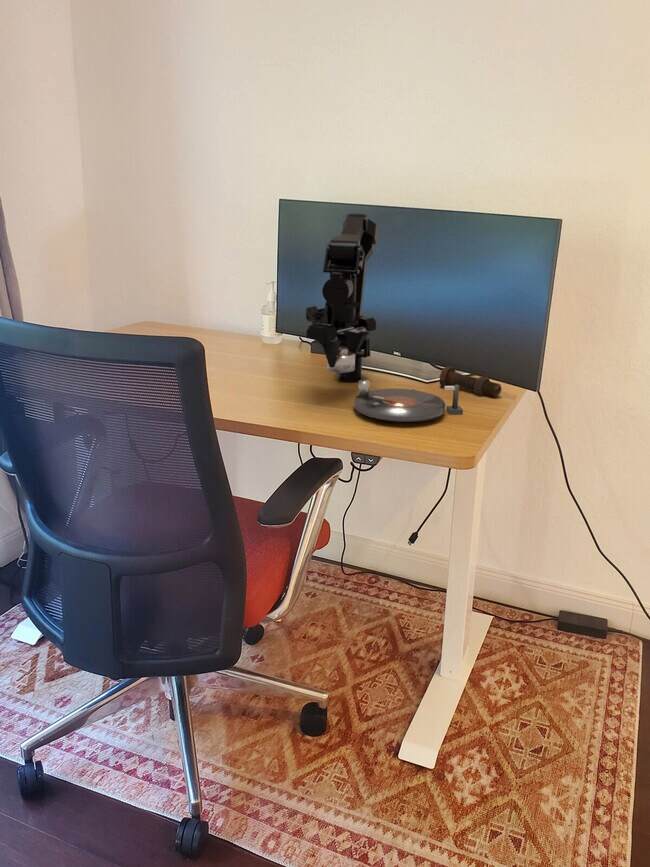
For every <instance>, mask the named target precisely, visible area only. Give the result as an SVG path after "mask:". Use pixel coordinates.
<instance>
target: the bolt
mask: <svg viewBox="0 0 650 867" xmlns="http://www.w3.org/2000/svg"><path fill="white" fill-rule="evenodd" d="M450 366H451V365H448V366H445V367H444V368H442V370H441V371H440V375H439V385H440V387H441V388H444V387H445V386H454V385H459V388H461V389H465V390H469V391H472V392H474V394H475V395H476V396H480V397H482V396H485V395H488V396H490V397H498V396H499V395H500V394H501V392H502V386H501V384H500V383H497V382H492V381H491V380H490V378H489V377H488V376H485V377H484V375H483V376H479V377H478V378H477V377H475V376H470V375H467V374H463V373H459V372H457V371H456V369H454V368H455V367H454V366H453V367H454V368H453V367H450Z"/></svg>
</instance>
